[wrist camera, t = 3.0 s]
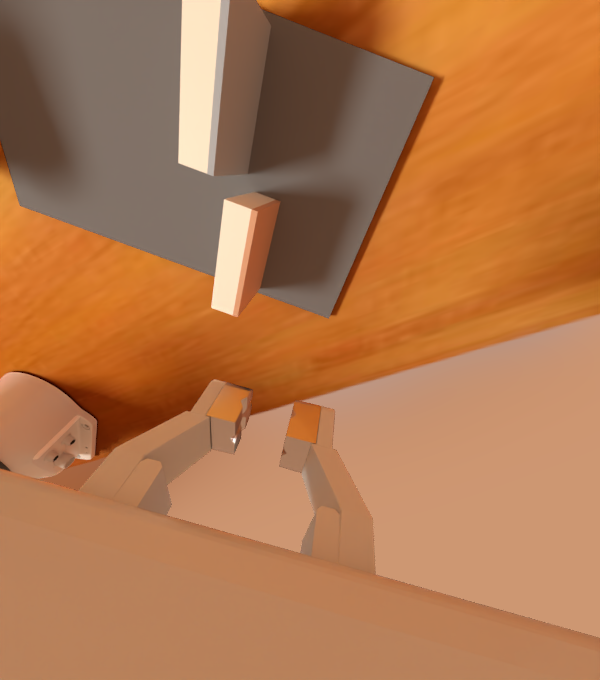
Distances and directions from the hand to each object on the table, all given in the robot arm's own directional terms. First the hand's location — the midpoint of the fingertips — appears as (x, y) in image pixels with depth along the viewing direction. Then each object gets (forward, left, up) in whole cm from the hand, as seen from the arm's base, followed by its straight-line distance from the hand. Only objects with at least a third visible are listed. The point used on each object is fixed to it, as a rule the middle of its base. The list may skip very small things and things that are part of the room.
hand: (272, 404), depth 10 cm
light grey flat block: (+9, +9, -16) cm, 21 cm away
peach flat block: (0, +6, -16) cm, 18 cm away
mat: (+5, +13, -17) cm, 22 cm away
